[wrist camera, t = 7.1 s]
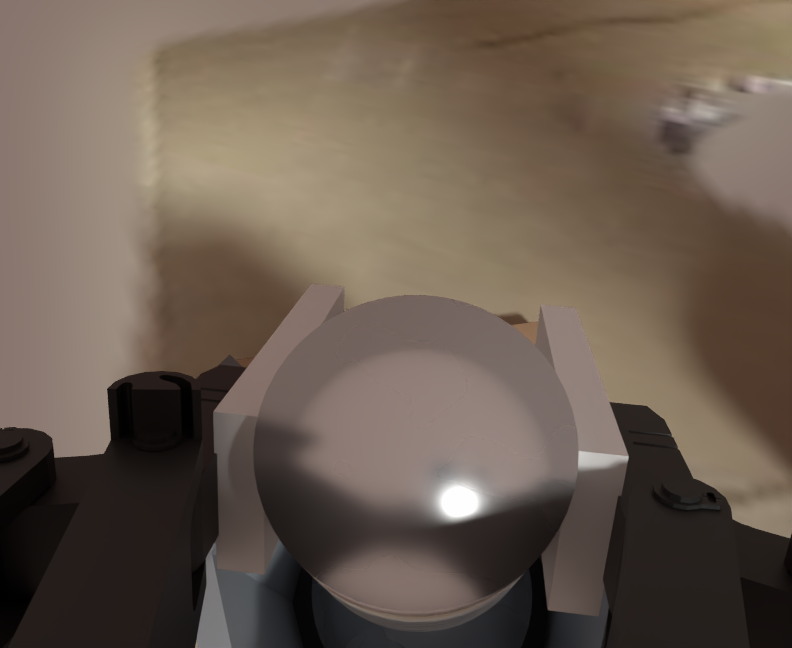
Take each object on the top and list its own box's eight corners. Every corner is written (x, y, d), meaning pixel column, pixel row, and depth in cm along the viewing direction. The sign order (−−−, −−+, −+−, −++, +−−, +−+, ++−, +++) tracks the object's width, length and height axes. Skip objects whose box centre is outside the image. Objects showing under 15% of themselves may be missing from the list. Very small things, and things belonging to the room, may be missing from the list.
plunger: (412, 444, 29) (394, 126, 13) (572, 581, 27) (812, 414, 10) (270, 599, 27) (21, 462, 10) (432, 764, 25) (447, 933, 8)
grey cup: (368, 370, 33) (337, 199, 22) (627, 585, 29) (762, 519, 17) (176, 567, 30) (17, 492, 18) (437, 843, 26) (447, 977, 14)
